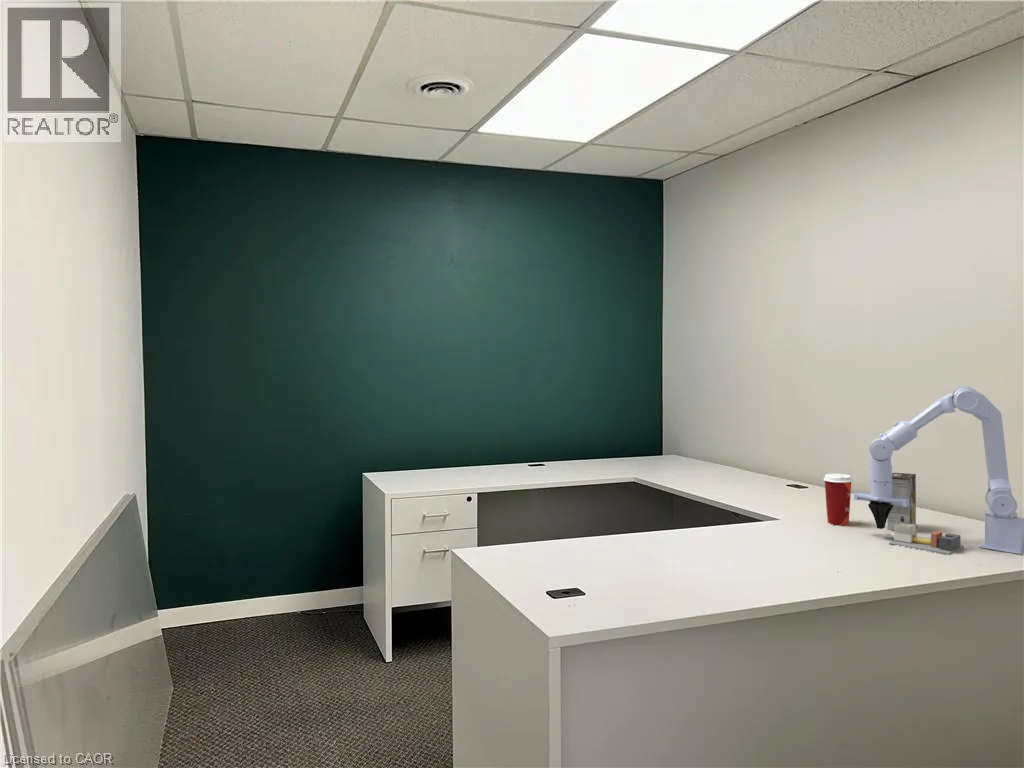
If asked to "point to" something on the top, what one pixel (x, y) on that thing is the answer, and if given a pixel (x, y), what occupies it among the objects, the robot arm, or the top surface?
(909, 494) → the coffee box
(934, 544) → the orange thin flat block
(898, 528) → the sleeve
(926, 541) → the yellow thin rod
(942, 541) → the dark grey hollow block
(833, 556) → the top surface
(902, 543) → the mat
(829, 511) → the coffee cup
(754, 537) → the top surface
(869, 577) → the top surface
